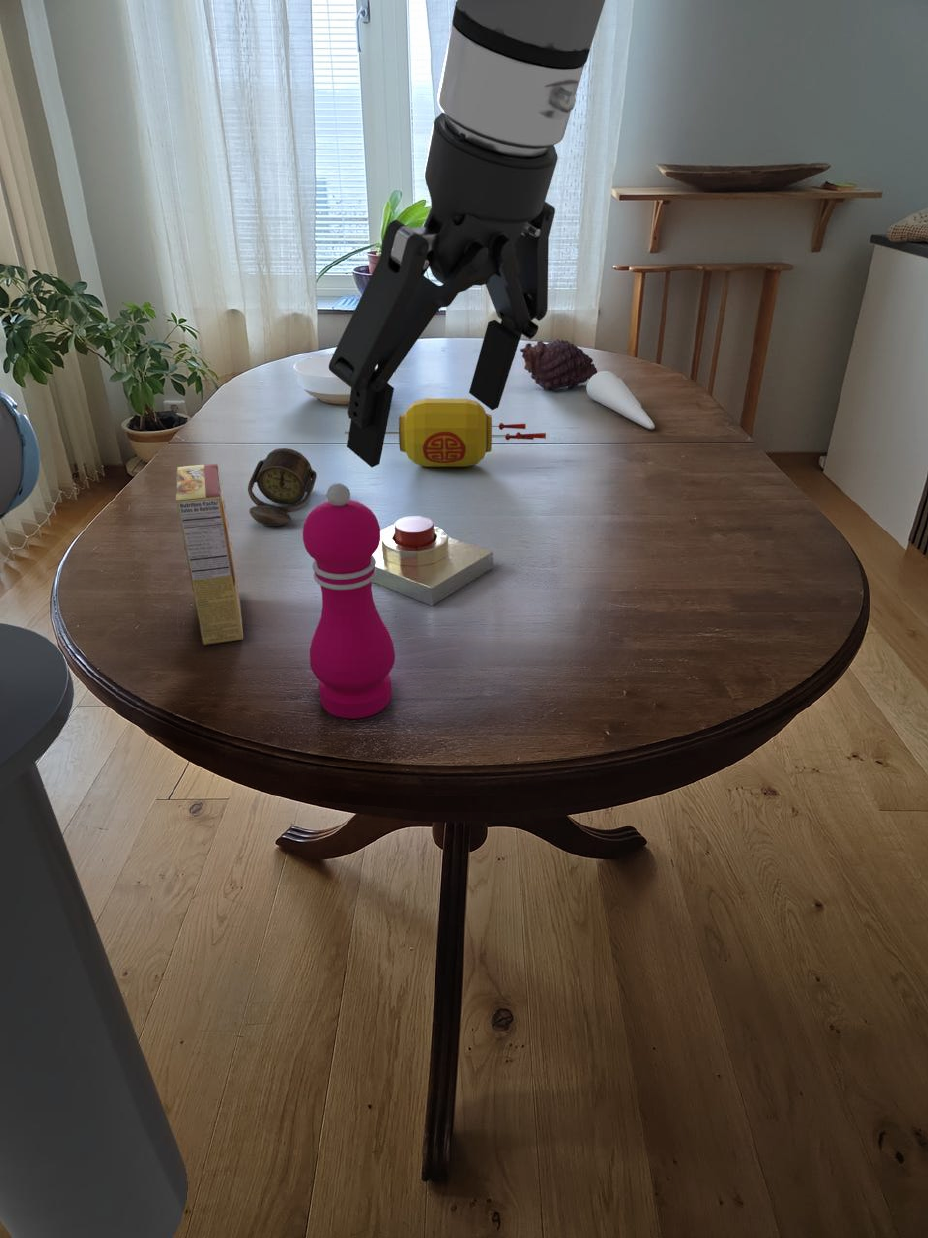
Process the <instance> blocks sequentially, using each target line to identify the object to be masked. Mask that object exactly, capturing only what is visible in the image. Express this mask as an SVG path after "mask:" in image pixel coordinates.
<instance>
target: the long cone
mask: <svg viewBox="0 0 928 1238" xmlns="http://www.w3.org/2000/svg"><path fill="white" fill-rule="evenodd" d="M585 388H586V393H587V395H588V397H589V398H590V399H592V400H593V401H595V402H597V403H599V404H601V405H603V406H605V407H607V408H608V409H610V410H612V411H614V412H615V413H617V414H619V415H621V416H623V417H625V418H627V419H628V420H631V421H632V422H634V423H636V424H637V425H640V426H641V427H644V428H645V429H647V430H651V431H653V430H654V429H655V428H656V426H655V424H654V422H653V420H652V419H651V418H650V417H649V416H648V414H647V413H646V411H645V410H644V409H643V408H642V405H641V403H640V402H639V401H638V399H637V398H636V397H635V396H634V394H633V393H632V392H631V390H630V389H629V388H628V386H627V385H626V384H625V382H624V381H623V380H622V378H620V377H618V376H617V375H615V374H614V373H613V372H612V371H609V370H608V371H607V370H603V371H597V373H596V374H594V375H593V376H592V377H591V378H590V379H588V380H587V382H586V387H585Z"/></svg>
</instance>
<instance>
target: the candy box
mask: <svg viewBox="0 0 928 1238" xmlns="http://www.w3.org/2000/svg"><path fill="white" fill-rule="evenodd" d="M175 504H176V508H177V513H178V518H179V519H178V520H179V523H180V529H181V534H182V540H183V544H184V545H183V547H184V551H185V556H186V561H187V566H188V572H189V577H190V582H191V588H192V592H193V593H192V594H193V598H194V604H195V609H196V614H197V620H198V624H199V625H198V626H199V630H200V635H201V640H202V641H201V642H202V644H203V646H209V645H215V644H221V643H228V642H234V641H242V640H244V632H243V629H244V628H243V618H242V607H241V599H240V592H239V591H240V590H239V583H238V577H237V570H236V565H235V556H234V551H233V544H232V537H231V532H230V525H229V520H228V514H227V508H226V502H225V496H224V490H223V486H222V480H221V474H220V467H219V464H217V463H211V464H197V465H185V466H184V465H183V466H178V467H176V471H175Z"/></svg>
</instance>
